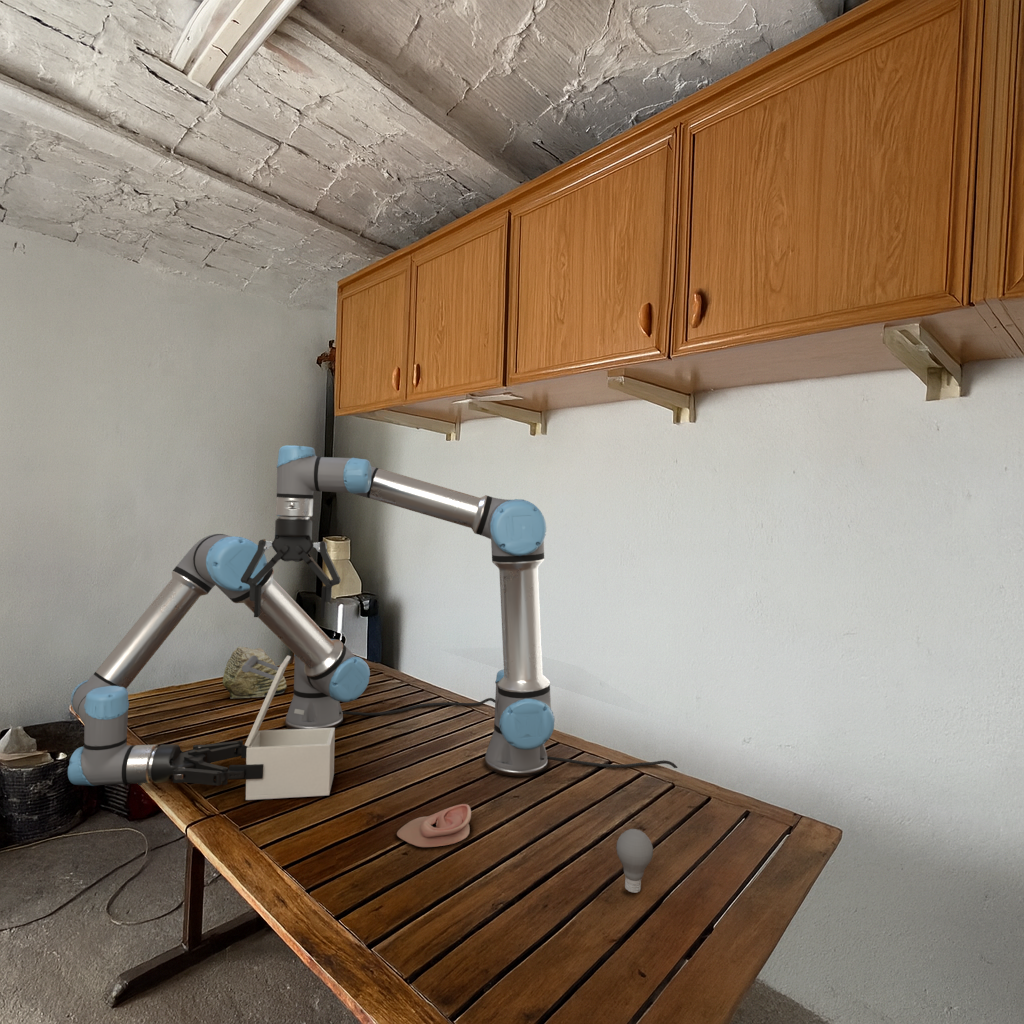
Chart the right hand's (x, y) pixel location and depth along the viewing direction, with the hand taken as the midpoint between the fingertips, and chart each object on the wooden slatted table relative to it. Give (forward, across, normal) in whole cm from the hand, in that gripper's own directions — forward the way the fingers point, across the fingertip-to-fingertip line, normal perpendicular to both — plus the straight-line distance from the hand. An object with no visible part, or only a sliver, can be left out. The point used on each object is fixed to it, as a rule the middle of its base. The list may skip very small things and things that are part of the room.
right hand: (290, 616), depth 136 cm
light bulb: (+37, +63, -44) cm, 85 cm away
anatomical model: (+37, +31, -22) cm, 53 cm away
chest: (+37, +2, 0) cm, 37 cm away
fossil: (+37, -20, +66) cm, 78 cm away
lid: (+18, -3, 0) cm, 18 cm away
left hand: (+31, -4, 0) cm, 31 cm away
